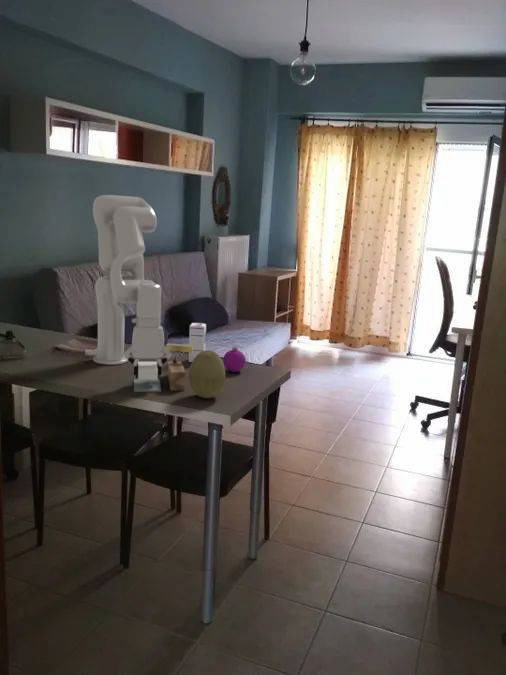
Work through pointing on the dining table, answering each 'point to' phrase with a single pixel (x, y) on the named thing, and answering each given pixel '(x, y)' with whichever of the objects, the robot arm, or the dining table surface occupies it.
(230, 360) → the christmas ornament
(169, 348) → the golden rectangular block
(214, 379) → the fruit
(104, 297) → the robot arm
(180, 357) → the dining table surface
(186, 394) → the dining table surface
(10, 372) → the dining table surface
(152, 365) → the cover
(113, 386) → the dining table surface
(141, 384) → the mat
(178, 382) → the housing
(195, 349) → the syrup box
